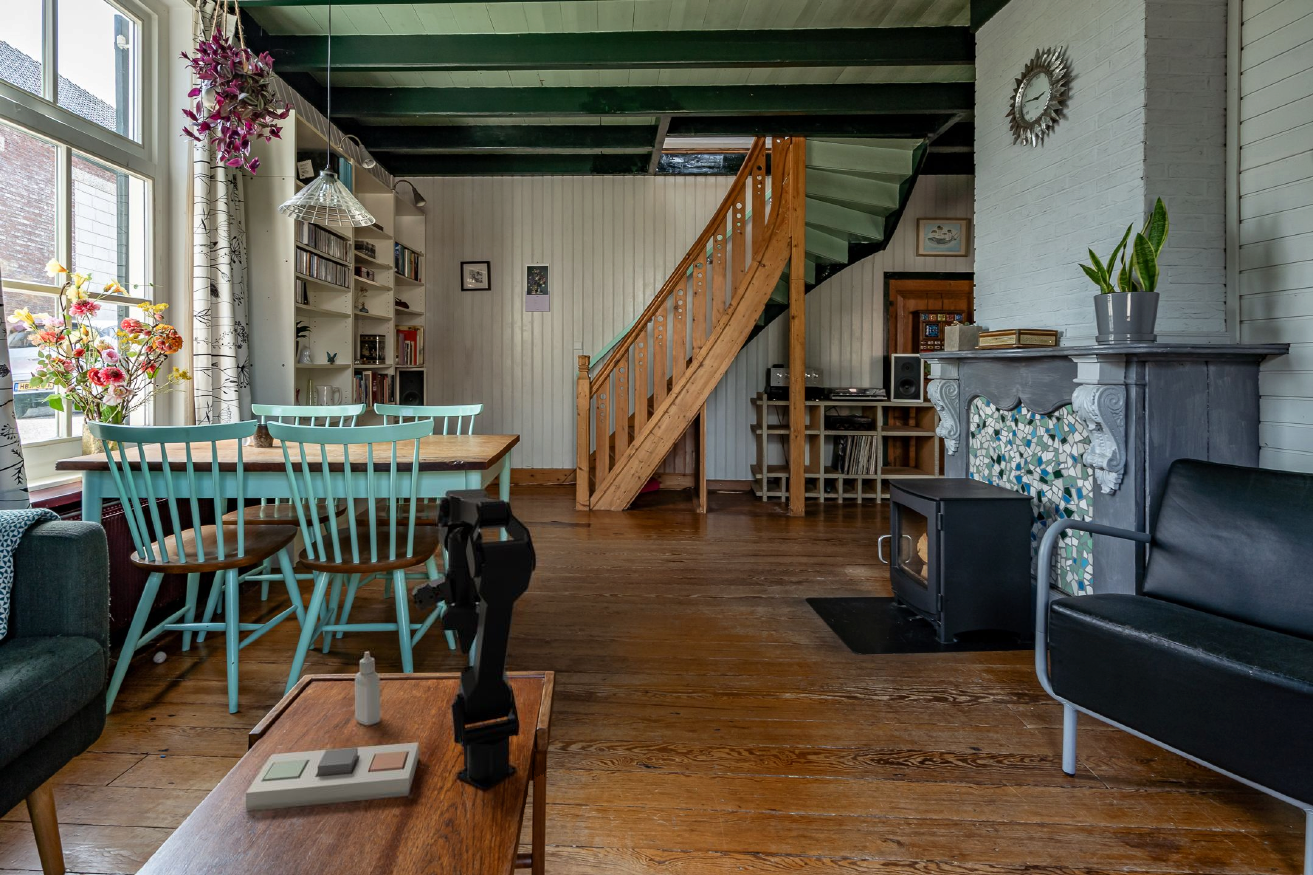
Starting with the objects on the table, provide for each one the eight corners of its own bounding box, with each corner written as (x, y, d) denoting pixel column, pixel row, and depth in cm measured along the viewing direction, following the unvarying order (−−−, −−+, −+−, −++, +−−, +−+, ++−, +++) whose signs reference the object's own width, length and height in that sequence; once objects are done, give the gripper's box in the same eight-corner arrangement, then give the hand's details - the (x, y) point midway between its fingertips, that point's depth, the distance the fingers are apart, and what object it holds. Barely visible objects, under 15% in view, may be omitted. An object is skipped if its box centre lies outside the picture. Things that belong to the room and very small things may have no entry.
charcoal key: (357, 760, 102) (357, 747, 102) (350, 776, 98) (350, 763, 97) (326, 762, 101) (326, 749, 101) (317, 779, 97) (317, 765, 97)
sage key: (307, 772, 100) (307, 759, 100) (298, 789, 96) (297, 775, 96) (275, 775, 100) (274, 761, 99) (264, 792, 95) (263, 778, 95)
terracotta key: (406, 763, 103) (406, 750, 103) (402, 779, 99) (402, 766, 99) (376, 766, 102) (376, 753, 102) (370, 782, 98) (370, 769, 98)
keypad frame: (418, 758, 106) (418, 742, 106) (408, 795, 97) (408, 777, 96) (272, 770, 102) (271, 754, 102) (246, 811, 92) (245, 792, 92)
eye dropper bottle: (351, 728, 115) (351, 659, 115) (356, 713, 121) (355, 647, 120) (379, 725, 117) (379, 657, 116) (382, 710, 122) (382, 645, 121)
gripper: (423, 551, 122) (423, 636, 123) (406, 579, 104) (407, 678, 105) (486, 549, 124) (486, 633, 125) (481, 577, 106) (481, 674, 107)
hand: (465, 653), depth 116 cm, fingers closed
